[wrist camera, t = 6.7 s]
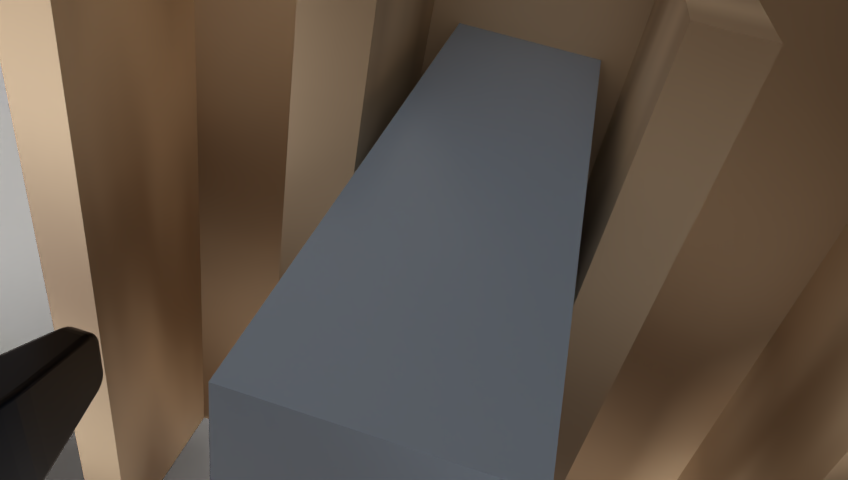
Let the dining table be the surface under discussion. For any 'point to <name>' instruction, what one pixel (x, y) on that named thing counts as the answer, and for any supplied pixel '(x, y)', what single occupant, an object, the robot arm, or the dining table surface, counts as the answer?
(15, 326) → the dining table surface
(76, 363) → the robot arm
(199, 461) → the dining table surface
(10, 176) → the dining table surface
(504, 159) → the blue-grey flat block
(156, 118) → the rack
